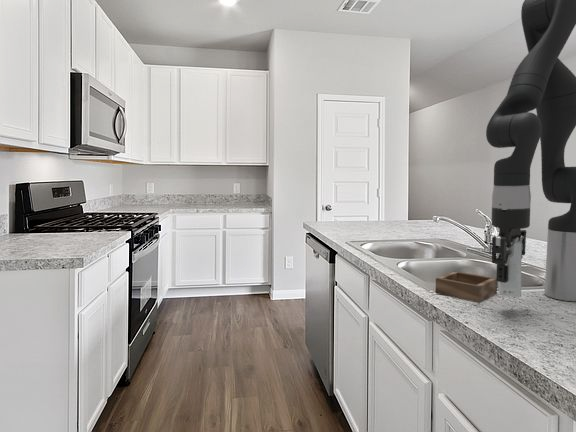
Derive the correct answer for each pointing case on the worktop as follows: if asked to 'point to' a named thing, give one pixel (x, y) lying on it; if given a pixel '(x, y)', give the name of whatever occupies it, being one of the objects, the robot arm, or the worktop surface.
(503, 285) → the skincare box
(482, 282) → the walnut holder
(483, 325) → the worktop surface
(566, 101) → the robot arm
